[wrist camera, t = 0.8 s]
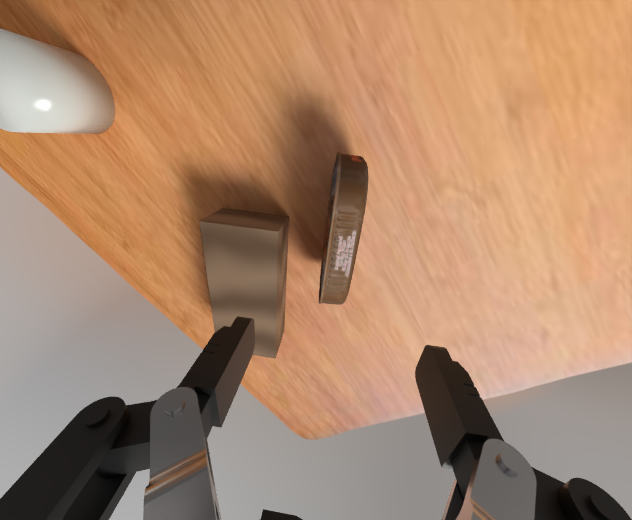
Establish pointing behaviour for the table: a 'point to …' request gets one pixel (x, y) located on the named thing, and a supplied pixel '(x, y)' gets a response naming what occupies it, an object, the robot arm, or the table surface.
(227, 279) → the brown rectangular block
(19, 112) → the white rounded capsule
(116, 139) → the table surface
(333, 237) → the tin
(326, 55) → the table surface
